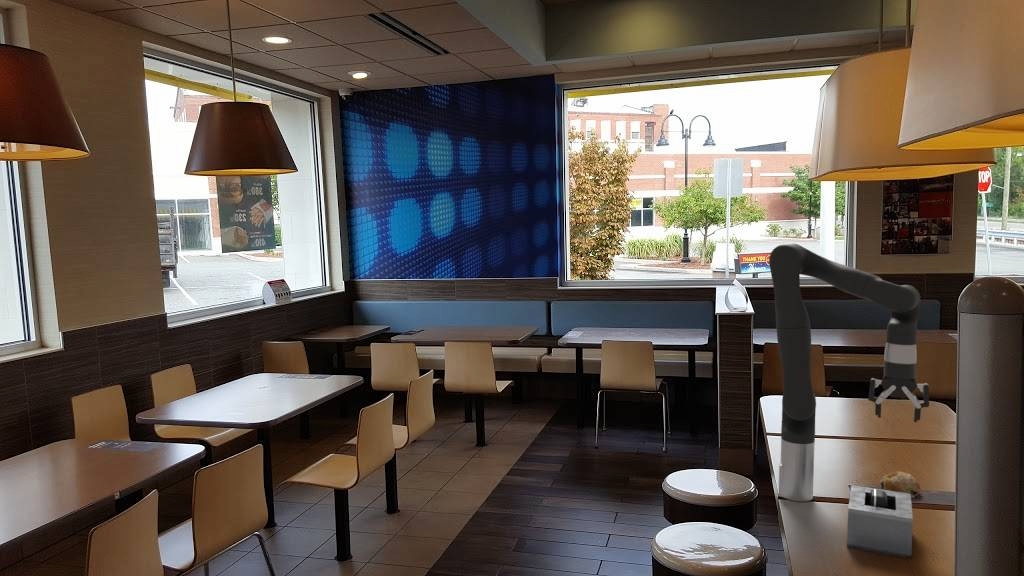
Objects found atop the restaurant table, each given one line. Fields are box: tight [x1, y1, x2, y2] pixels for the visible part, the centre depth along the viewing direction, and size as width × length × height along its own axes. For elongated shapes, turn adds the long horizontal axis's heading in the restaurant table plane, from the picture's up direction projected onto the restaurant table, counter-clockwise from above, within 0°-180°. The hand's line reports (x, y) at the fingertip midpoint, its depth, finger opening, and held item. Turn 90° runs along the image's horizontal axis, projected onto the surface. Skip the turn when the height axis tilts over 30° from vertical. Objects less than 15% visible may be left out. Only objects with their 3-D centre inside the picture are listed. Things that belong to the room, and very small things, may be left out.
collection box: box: [846, 484, 914, 560], centre depth 179 cm, size 14×18×10 cm
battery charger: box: [871, 488, 888, 509], centre depth 179 cm, size 7×4×11 cm, turn 153°
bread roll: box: [879, 470, 921, 499], centre depth 211 cm, size 10×10×8 cm
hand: (897, 419), depth 188 cm, fingers open, 8 cm apart
